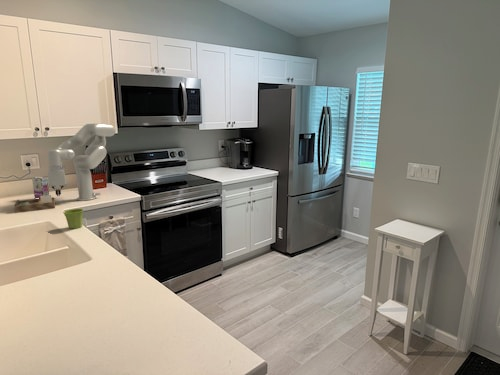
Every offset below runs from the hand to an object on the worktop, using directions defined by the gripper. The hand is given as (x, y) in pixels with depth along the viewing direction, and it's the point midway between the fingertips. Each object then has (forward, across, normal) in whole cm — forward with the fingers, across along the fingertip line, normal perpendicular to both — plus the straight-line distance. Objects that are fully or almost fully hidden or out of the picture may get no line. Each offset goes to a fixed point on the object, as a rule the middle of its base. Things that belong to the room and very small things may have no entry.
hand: (58, 195), depth 228 cm
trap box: (+7, +13, -1) cm, 14 cm away
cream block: (+4, +7, 0) cm, 8 cm away
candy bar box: (+6, +11, -32) cm, 34 cm away
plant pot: (+8, -7, +66) cm, 66 cm away
